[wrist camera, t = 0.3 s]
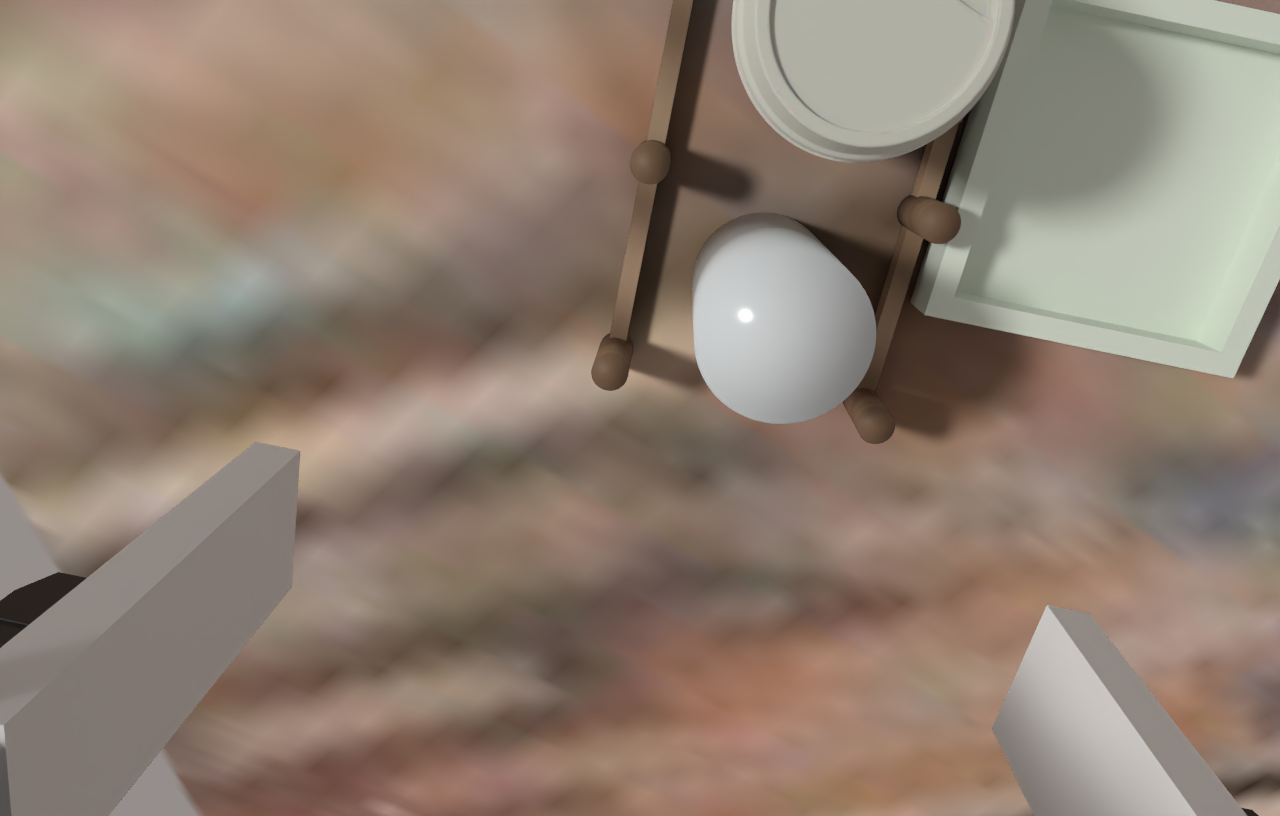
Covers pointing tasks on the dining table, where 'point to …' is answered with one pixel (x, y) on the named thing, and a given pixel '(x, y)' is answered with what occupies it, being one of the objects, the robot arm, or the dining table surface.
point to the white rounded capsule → (778, 320)
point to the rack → (918, 222)
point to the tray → (1120, 183)
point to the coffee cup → (867, 69)
